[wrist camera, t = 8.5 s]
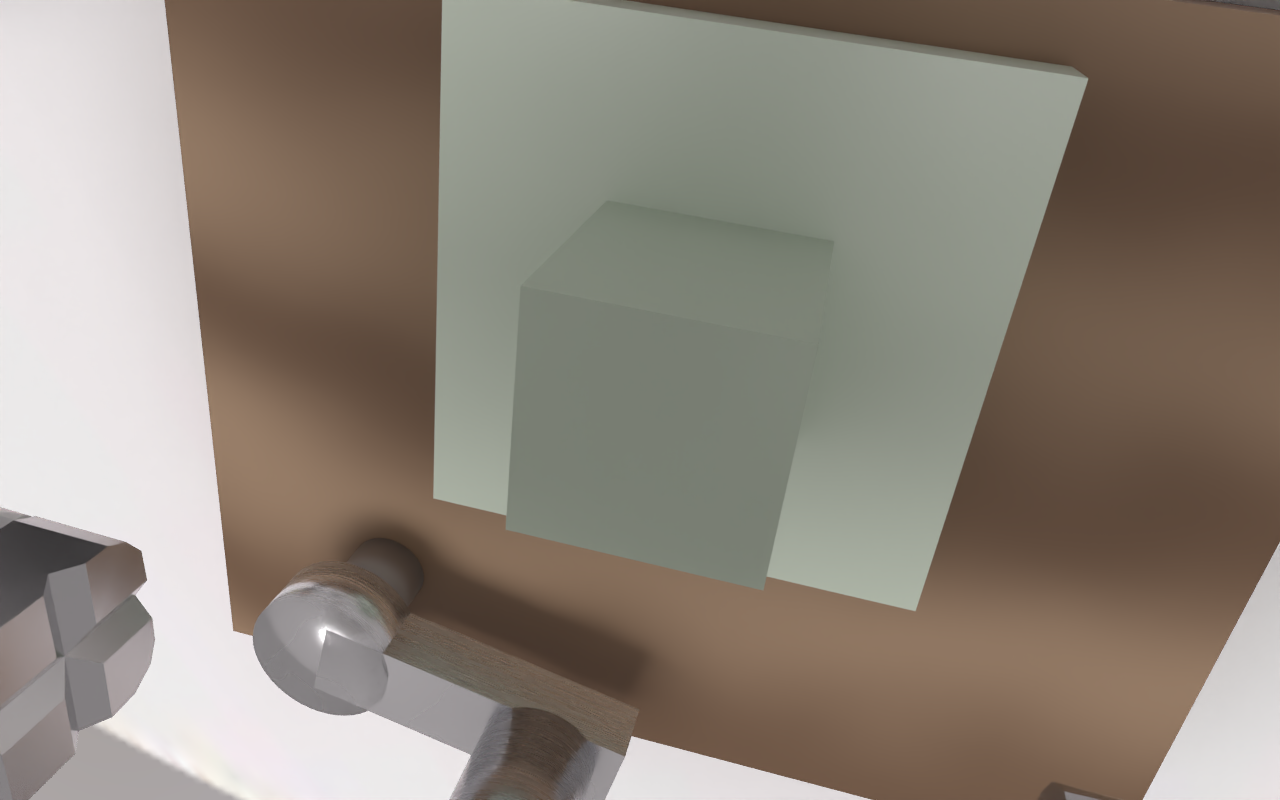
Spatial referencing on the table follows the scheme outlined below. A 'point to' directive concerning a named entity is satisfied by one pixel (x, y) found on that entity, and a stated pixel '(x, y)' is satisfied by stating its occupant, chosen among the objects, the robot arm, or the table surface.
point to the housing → (784, 611)
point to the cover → (727, 281)
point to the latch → (440, 688)
